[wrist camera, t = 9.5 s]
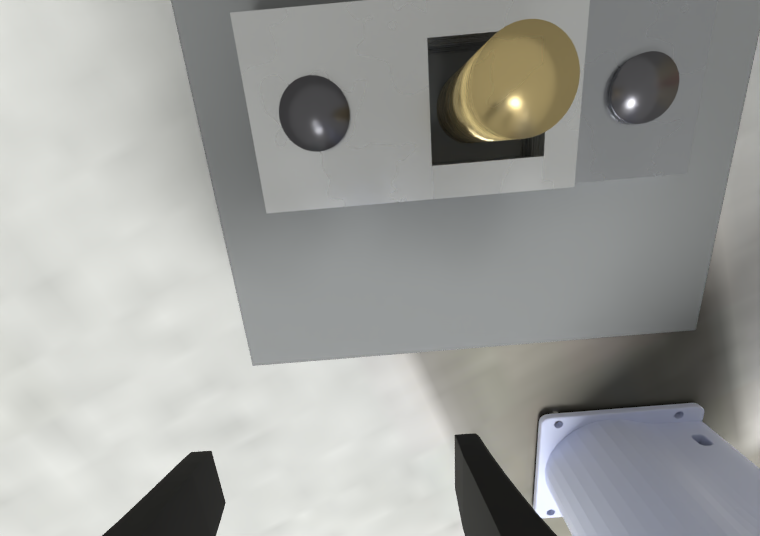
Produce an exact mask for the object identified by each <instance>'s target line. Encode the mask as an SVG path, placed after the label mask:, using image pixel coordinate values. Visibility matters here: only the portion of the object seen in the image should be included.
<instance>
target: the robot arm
mask: <svg viewBox="0 0 760 536" xmlns="http://www.w3.org/2000/svg"><path fill="white" fill-rule="evenodd" d="M703 416H704V409H703V407H701V406H700V405H699V404H697V403H683V404H670V405H657V406H644V407H632V408H619V409H606V410H593V411H580V412H567V413H555V414H546V415H543V416H542V417H541V418H540V420H539V428H538V443H537V457H536V472H535V487H534V502H533V508H532V507H531V505H530V504H529V503H528V502H527V501H526V499H525V498H524V497H523V496H522V494H521V493H520V492H519V491H518V489H517V488H516V487H515V486H514V484H513V483H512V482H511V481H510V479H509V478H508V477H507V475H506V474H505V473H504V471H503V470H502V469H501V467H500V466H499V465H498V463H497V462H496V461H495V459H494V458H493V456H492V455H491V453H490V452H489V451H488V449H487V448H486V446H485V445H484V443H483V442H482V440H481V439H480V437H479V436H478V435H477V434H461V435H455V490H456V495H457V500H458V506H459V511H460V516H461V521H462V526H463V530H464V533H465V536H557V535H556V534H555V533H554V532H553V531H552V530H551V529H550V527H549V526H548V525H547V524H546V523H545V522H544V521H543V520H542V518H551V517H563V518H564V520H565V522H566V524H567V526H568V528H569V530H570V532H571V534H572V536H760V468H758V467H757V466H756V465H755V464H754V463H752V462H751V461H750V460H749V459H747V458H746V457H745V456H744V455H743V454H741V453H740V452H739V451H738V450H737V449H735V448H734V447H733V446H732V445H730V444H729V443H728V442H727V441H726V440H724V439H723V438H722V437H721V436H720V435H718V434H717V433H716V432H715V431H713V430H712V429H711V428H710V427H709V426H707V425H706V424H705V423H704V422H702V420H703ZM557 421H559V422H558V423H555V422H557ZM224 506H225V499H224V496H223V492H222V488H221V485H220V481H219V477H218V474H217V470H216V466H215V463H214V459H213V455H212V452H211V451H203V452H191V453H190V454H189V455H187V456H186V457H185V458H184V459H183V460H182V461H181V462H180V463H179V464H178V465H177V466H176V467H175V468H174V469H173V470H172V471H170V472H169V473H168V474H167V475H166V476H165V477H164V478H163V479H162V480H161V481H160V482H159V483H158V484H157V485H156V486H155V487H154V488H153V489H152V490H151V491H150V492H149V493H148V494H147V495H146V496H145V497H143V498H142V499H141V500H140V501H139V502H138V503H137V504H136V505H135V506H134V507H133V508H132V509H131V510H130V511H129V512H128V513H127V514H125V515H124V516H123V517H122V518H121V519H120V520H119V521H118V522H117V523H116V524H115V525H114V526H112V527H111V528H110V529H109V530H108V531H107V532H106V533H105V534H103V535H102V536H216V533H217V530H218V527H219V523H220V520H221V517H222V513H223V510H224Z"/></svg>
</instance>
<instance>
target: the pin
mask: <svg viewBox="0 0 760 536" xmlns="http://www.w3.org/2000/svg"><path fill="white" fill-rule="evenodd" d="M579 79H580V64H579V58H578V54H577V51H576V48H575V46H574V44H573V42H572V41H571V39H570V38H569V36H568V35H567V34H566V33H565V32H564V31H563V30H562V29H561V28H559V27H558V26H556V25H555V24H553V23H551V22H548V21H545V20H541V19H524V20H519V21H516V22H513V23H511V24H509V25H507V26H505V27H504V28H502V29H501V30H499V31H498V32H497V33H496V34H495V35H493V36H492V37H491V38H490V39H489V40H488V41H487V42H486V43H485V44H484V45H483V46H482V47H481V48H480V49H479V50H478V51H477V52H476V53H475V54H474V55H473V56H472V57H471V58H470V59H469V60H468V61H467V62H466V63H465V64H464V65H463V66H462V67H461V68H460V69H459V70H458V71H457V72H456V73H455V74H454V75H453V76H452V77H451V78H450V79H449V80H448V81H447V82H446V83H445V84H444V86H443V87H442V89H441V91H440V94H439V97H438V100H437V117H438V121H439V123H440V126H441V127H442V129H443V131H444V132H445V133H446V134H447V135H448V136H449V137H450V138H452V139H454V140H456V141H458V142H461V143H479V142H491V141H503V140H514V139H525V138H531V137H534V136H537V135H540V134H542V133H544V132H546V131H547V130H549V129H550V128H552V127H553V126H554V125H556V124H557V123H558V122H559V121H560V120H561V119H562V118H563V116H564V115H565V114H566V113H567V111H568V110H569V108H570V106H571V104H572V102H573V100H574V98H575V95H576V93H577V89H578V85H579Z"/></svg>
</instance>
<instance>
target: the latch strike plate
mask: <svg viewBox="0 0 760 536" xmlns="http://www.w3.org/2000/svg"><path fill="white" fill-rule="evenodd" d="M717 2H718V0H362V1H351V2H340V3H329V4H319V5H308V6H297V7H286V8H275V9H265V10H254V11H243V12H232V13H230V16H231V21H232V27H233V32H234V38H235V43H236V49H237V54H238V60H239V65H240V71H241V76H242V82H243V87H244V93H245V98H246V104H247V109H248V115H249V120H250V126H251V131H252V137H253V142H254V148H255V153H256V159H257V164H258V170H259V175H260V181H261V186H262V192H263V197H264V203H265V208H266V213H278V212H289V211H301V210H313V209H324V208H336V207H348V206H359V205H371V204H383V203H394V202H406V201H418V200H429V199H441V198H453V197H464V196H476V195H488V194H500V193H511V192H523V191H535V190H546V189H558V188H570V187H574V184H575V183H583V182H594V181H606V180H618V179H629V178H641V177H653V176H664V175H676V174H687V170H688V165H689V159H690V154H691V148H692V142H693V137H694V131H695V125H696V120H697V114H698V109H699V103H700V97H701V92H702V86H703V81H704V75H705V69H706V64H707V58H708V52H709V47H710V41H711V36H712V30H713V24H714V19H715V13H716V8H717ZM524 19H541V20H545V21H548V22H551V23H553V24H555V25H556V26H558V27H559V28H561V29H562V30H563V31H564V32H565V33H566V34H567V35H568V36H569V38H570V39H571V41H572V42H573V44H574V46H575V48H576V51H577V54H578V58H579V64H580V79H579V85H578V89H577V93H576V95H575V98H574V100H573V102H572V104H571V106H570V108H569V110H568V111H567V113H566V114H565V115H564V116H563V118H562V119H561V120H560V121H559V122H558V123H557V124H556V125H554V126H553V127H552V128H550V129H549V130H547V131H546V132H544V133H542V134H540V135H537V136H534V137H531V138H525V139H521V147H520V156H509V157H498V158H486V159H475V160H463V161H452V162H440V163H432V155H431V128H430V100H429V73H428V54H437V53H448V52H459V51H470V50H479V49H480V48H481V47H482V46H483V45H484V44H485V43H486V42H487V41H488V40H489V39H490V38H491V37H492V36H493V35H495V34H496V33H497V32H498V31H499V30H501V29H502V28H504V27H505V26H507V25H509V24H511V23H513V22H516V21H519V20H524Z"/></svg>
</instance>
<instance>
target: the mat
mask: <svg viewBox="0 0 760 536" xmlns="http://www.w3.org/2000/svg"><path fill="white" fill-rule="evenodd" d="M351 1H362V0H171V3H172V7H173V12H174V16H175V20H176V25H177V29H178V34H179V38H180V43H181V47H182V52H183V56H184V61H185V65H186V70H187V74H188V79H189V83H190V87H191V92H192V96H193V101H194V105H195V110H196V114H197V119H198V123H199V128H200V132H201V137H202V141H203V146H204V150H205V154H206V159H207V163H208V168H209V172H210V177H211V181H212V186H213V190H214V195H215V199H216V204H217V208H218V212H219V217H220V221H221V226H222V230H223V235H224V239H225V244H226V248H227V253H228V257H229V262H230V266H231V271H232V275H233V279H234V284H235V288H236V293H237V297H238V302H239V306H240V311H241V315H242V320H243V324H244V329H245V333H246V338H247V342H248V346H249V351H250V355H251V360H252V364H253V366H255V365H268V364H280V363H293V362H305V361H317V360H330V359H342V358H355V357H367V356H380V355H392V354H404V353H417V352H429V351H442V350H454V349H467V348H479V347H491V346H504V345H516V344H529V343H541V342H554V341H566V340H578V339H591V338H603V337H616V336H628V335H641V334H653V333H665V332H678V331H690V330H696V326H697V321H698V317H699V312H700V307H701V303H702V298H703V293H704V289H705V284H706V279H707V275H708V270H709V265H710V260H711V256H712V251H713V246H714V242H715V237H716V232H717V228H718V223H719V218H720V214H721V209H722V204H723V200H724V195H725V190H726V186H727V181H728V176H729V172H730V167H731V162H732V157H733V153H734V148H735V143H736V139H737V134H738V129H739V125H740V120H741V115H742V111H743V106H744V101H745V97H746V92H747V87H748V83H749V78H750V73H751V69H752V64H753V59H754V54H755V50H756V45H757V40H758V36H759V31H760V0H718V2H717V8H716V13H715V19H714V24H713V30H712V36H711V41H710V47H709V52H708V58H707V64H706V69H705V75H704V81H703V86H702V92H701V97H700V103H699V109H698V114H697V120H696V125H695V131H694V137H693V142H692V148H691V154H690V159H689V165H688V170H687V174H676V175H664V176H653V177H641V178H629V179H618V180H606V181H594V182H583V183H575V184H574V187H570V188H558V189H546V190H535V191H523V192H511V193H500V194H488V195H476V196H464V197H453V198H441V199H429V200H418V201H406V202H394V203H383V204H371V205H359V206H348V207H336V208H324V209H313V210H301V211H289V212H278V213H266V208H265V203H264V197H263V192H262V186H261V181H260V175H259V170H258V164H257V159H256V153H255V148H254V142H253V137H252V131H251V126H250V120H249V115H248V109H247V104H246V98H245V93H244V87H243V82H242V76H241V71H240V65H239V60H238V54H237V49H236V43H235V38H234V32H233V27H232V21H231V16H230V13H232V12H243V11H254V10H265V9H275V8H286V7H297V6H308V5H319V4H329V3H340V2H351ZM477 51H478V50H470V51H459V52H448V53H437V54H428V73H429V100H430V128H431V155H432V163H440V162H452V161H463V160H475V159H486V158H498V157H509V156H520V147H521V139H514V140H503V141H491V142H479V143H461V142H458V141H456V140H454V139H452V138H450V137H449V136H448V135H447V134H446V133H445V132H444V131H443V129H442V127H441V126H440V123H439V121H438V117H437V100H438V97H439V94H440V91H441V89H442V87H443V86H444V84H445V83H446V82H447V81H448V80H449V79H450V78H451V77H452V76H453V75H454V74H455V73H456V72H457V71H458V70H459V69H460V68H461V67H462V66H463V65H464V64H465V63H466V62H467V61H468V60H469V59H470V58H471V57H472V56H473V55H474V54H475V53H476V52H477Z"/></svg>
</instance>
